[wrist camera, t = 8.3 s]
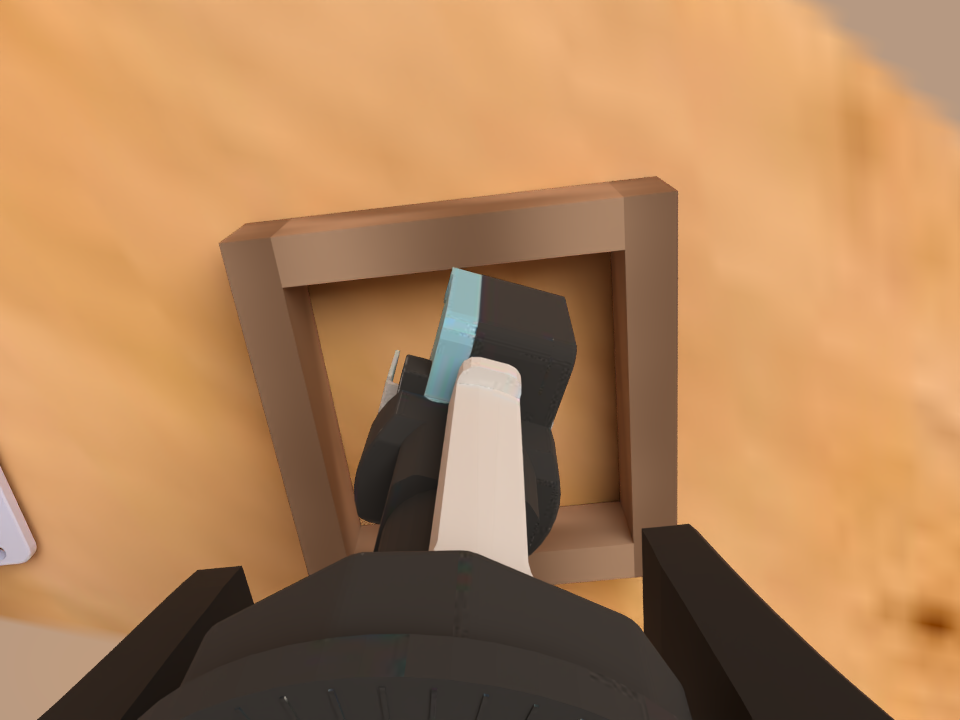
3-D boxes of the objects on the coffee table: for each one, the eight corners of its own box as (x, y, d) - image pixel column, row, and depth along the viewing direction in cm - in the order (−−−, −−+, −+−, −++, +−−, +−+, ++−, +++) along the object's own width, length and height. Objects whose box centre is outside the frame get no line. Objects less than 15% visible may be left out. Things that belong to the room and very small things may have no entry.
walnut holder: (330, 560, 22) (317, 606, 20) (245, 223, 18) (218, 243, 16) (660, 529, 21) (677, 573, 20) (656, 176, 17) (677, 190, 15)
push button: (536, 566, 15) (587, 1320, 6) (301, 511, 15) (-2, 1244, 6) (645, 295, 13) (1009, 960, 4) (359, 217, 12) (-49, 762, 3)
